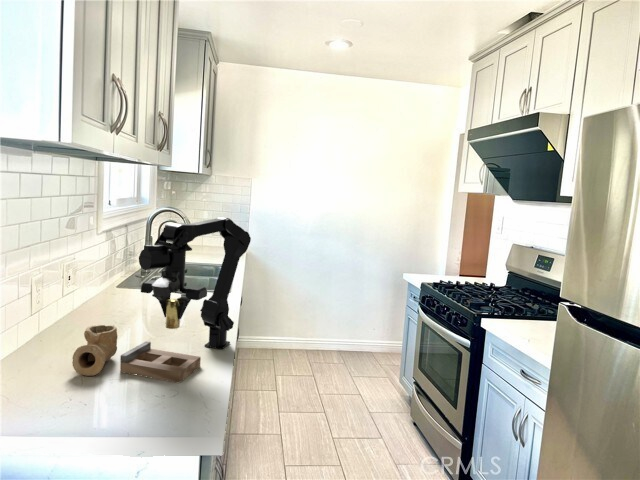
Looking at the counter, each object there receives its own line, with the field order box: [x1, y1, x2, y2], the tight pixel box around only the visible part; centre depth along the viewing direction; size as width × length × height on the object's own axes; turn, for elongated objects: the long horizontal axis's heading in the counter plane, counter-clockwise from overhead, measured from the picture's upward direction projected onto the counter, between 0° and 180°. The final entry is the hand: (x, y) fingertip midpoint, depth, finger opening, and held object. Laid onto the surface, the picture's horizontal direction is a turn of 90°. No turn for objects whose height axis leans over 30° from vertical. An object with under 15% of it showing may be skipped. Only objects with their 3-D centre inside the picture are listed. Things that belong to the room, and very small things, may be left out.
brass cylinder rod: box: [165, 298, 181, 330], centre depth 139 cm, size 4×4×8 cm
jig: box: [119, 340, 202, 383], centre depth 134 cm, size 12×18×5 cm, turn 77°
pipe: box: [71, 324, 118, 377], centre depth 133 cm, size 9×16×10 cm, turn 8°
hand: (172, 318), depth 140 cm, fingers closed on brass cylinder rod, 4 cm apart
